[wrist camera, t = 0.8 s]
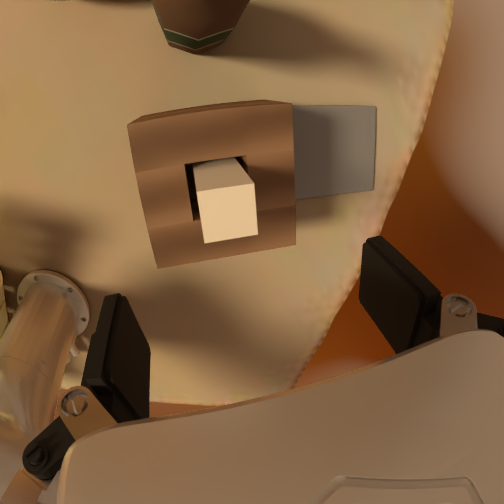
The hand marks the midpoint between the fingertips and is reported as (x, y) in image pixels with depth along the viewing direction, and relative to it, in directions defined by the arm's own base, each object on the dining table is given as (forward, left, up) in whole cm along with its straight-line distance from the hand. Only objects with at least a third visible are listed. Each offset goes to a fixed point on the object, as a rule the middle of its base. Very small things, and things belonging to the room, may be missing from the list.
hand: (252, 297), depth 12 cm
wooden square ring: (-1, -1, -27) cm, 27 cm away
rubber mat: (-1, -17, -27) cm, 32 cm away
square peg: (-1, -1, -23) cm, 23 cm away
